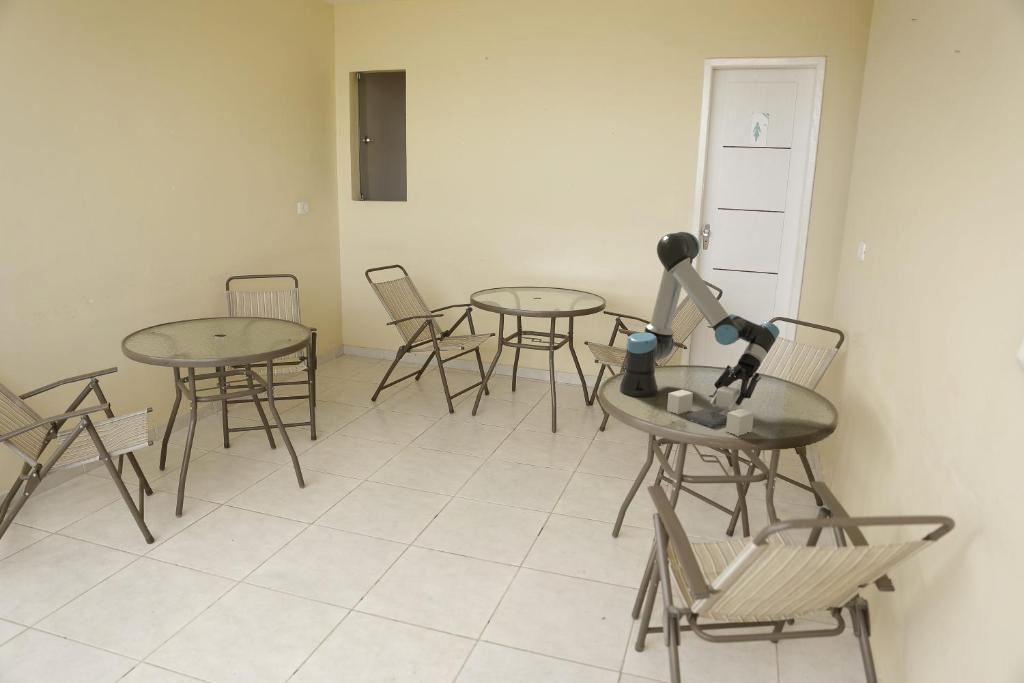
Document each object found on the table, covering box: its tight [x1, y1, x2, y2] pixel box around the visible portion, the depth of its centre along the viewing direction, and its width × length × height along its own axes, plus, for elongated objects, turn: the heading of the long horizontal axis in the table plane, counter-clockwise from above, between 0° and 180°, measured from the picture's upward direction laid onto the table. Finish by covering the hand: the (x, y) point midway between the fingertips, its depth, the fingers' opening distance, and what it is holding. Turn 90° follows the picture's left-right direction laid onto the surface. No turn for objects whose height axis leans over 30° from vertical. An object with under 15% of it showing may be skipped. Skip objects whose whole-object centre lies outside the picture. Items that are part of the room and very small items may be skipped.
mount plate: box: [686, 408, 727, 429], centre depth 248 cm, size 11×10×2 cm
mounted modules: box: [666, 389, 755, 436], centre depth 247 cm, size 31×8×7 cm, turn 37°
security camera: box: [716, 386, 741, 416], centre depth 253 cm, size 6×7×10 cm
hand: (721, 407), depth 252 cm, fingers closed on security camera, 7 cm apart
